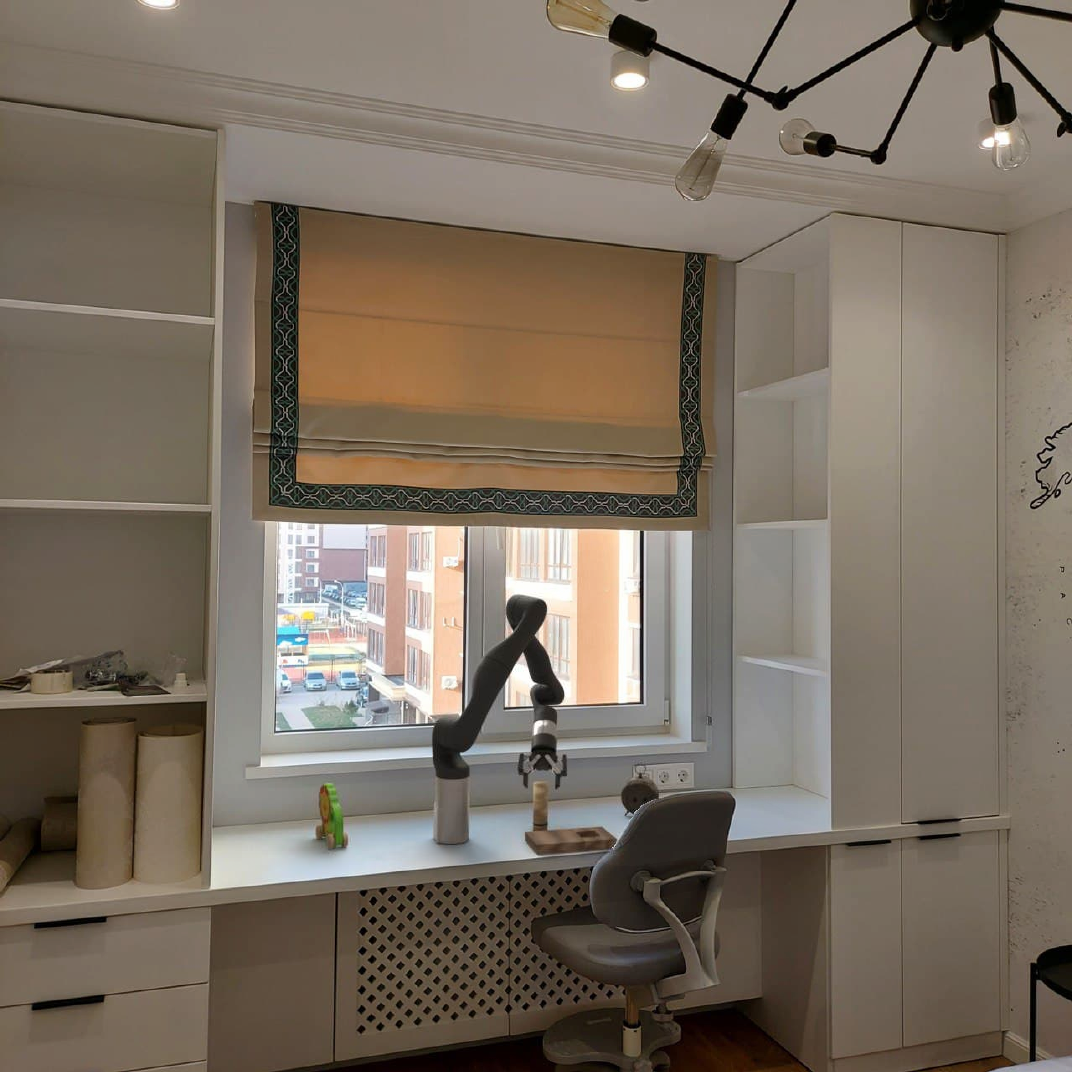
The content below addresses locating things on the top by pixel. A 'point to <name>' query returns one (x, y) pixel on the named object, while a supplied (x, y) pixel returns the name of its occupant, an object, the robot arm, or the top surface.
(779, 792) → the top surface
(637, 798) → the alarm clock
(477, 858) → the top surface
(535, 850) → the walnut board
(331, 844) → the toy lion
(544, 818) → the oak peg
